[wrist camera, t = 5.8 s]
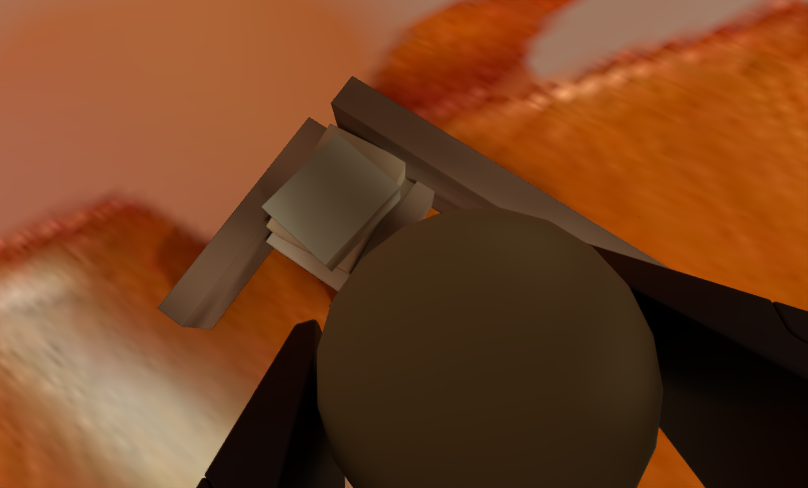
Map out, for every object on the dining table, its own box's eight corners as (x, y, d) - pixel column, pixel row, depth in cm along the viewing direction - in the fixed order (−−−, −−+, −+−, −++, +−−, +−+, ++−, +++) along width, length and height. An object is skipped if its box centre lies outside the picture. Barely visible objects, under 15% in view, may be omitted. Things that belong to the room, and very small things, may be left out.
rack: (487, 530, 20) (516, 593, 15) (189, 313, 22) (126, 303, 17) (620, 291, 22) (684, 274, 17) (341, 117, 24) (325, 57, 19)
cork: (553, 352, 16) (848, 357, 5) (444, 487, 15) (547, 820, 4) (429, 245, 17) (474, 68, 6) (319, 364, 16) (152, 390, 5)
